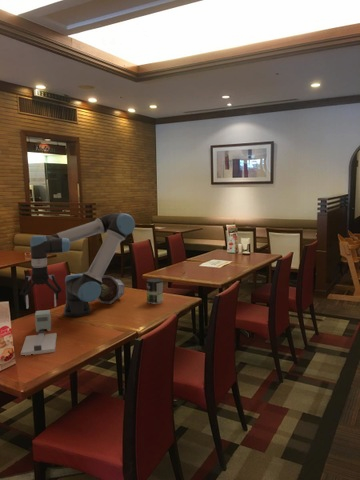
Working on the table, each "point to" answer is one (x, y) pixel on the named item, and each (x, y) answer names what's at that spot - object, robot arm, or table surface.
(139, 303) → the table surface
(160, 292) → the coffee can
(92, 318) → the table surface
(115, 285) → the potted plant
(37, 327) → the block
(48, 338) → the mounting plate
